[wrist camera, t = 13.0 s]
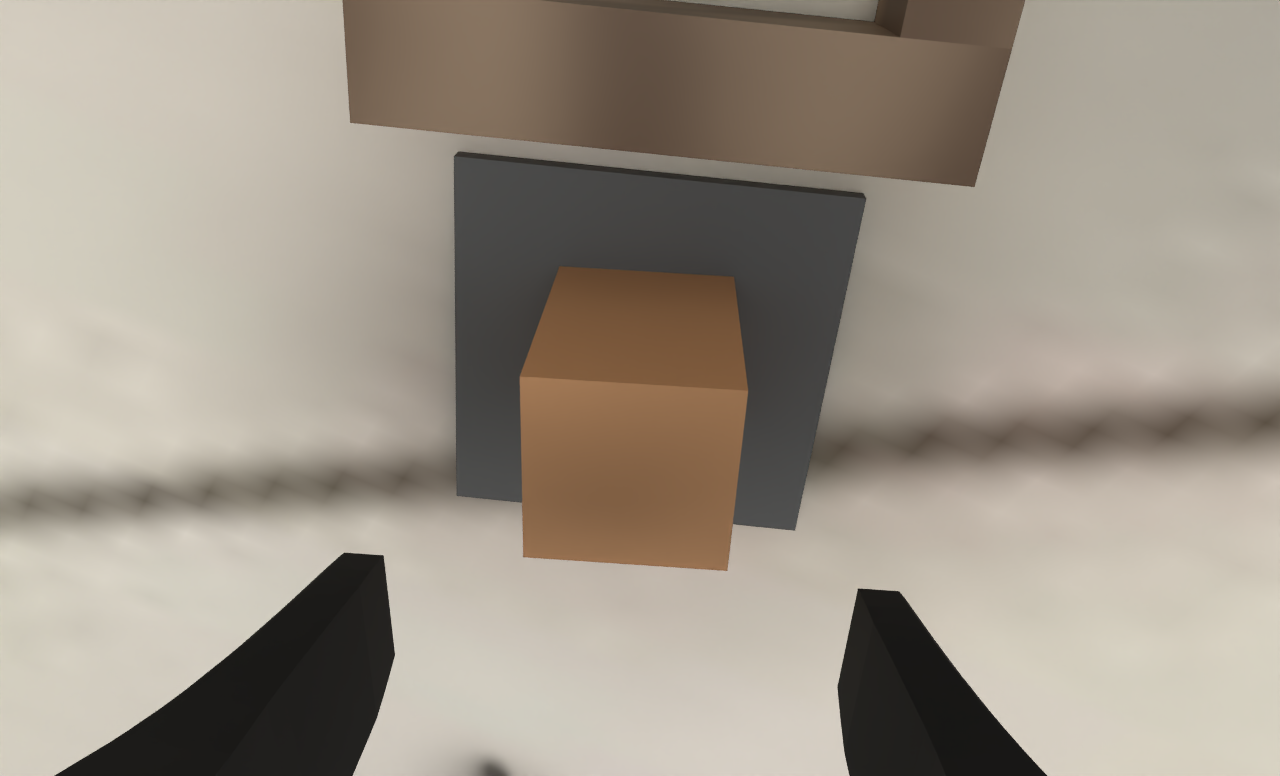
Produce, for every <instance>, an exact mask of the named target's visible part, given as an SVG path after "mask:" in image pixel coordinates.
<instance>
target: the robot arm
mask: <svg viewBox="0 0 1280 776" xmlns="http://www.w3.org/2000/svg"><path fill="white" fill-rule="evenodd" d="M394 657H395V652H394V643H393V634H392V626H391V617H390V608H389V599H388V591H387V582H386V573H385V564H384V556H383V555H369V554H354V553H343V554H342V555H341V556H340V557H338V558H337V559H336V560H335V561H334V562H333V563H332V564H331V565H329V566H328V567H327V568H326V569H325V570H324V571H323V572H322V573H321V574H320V575H319V576H317V577H316V578H315V579H314V580H313V581H312V582H311V583H310V584H309V585H308V586H307V587H306V588H305V589H303V590H302V591H301V592H300V593H299V594H298V595H297V596H296V597H295V598H294V599H293V600H291V601H290V602H289V603H288V604H287V605H286V606H285V607H284V608H283V609H282V610H281V611H279V612H278V613H277V614H276V615H275V616H274V617H273V618H272V619H270V620H269V621H268V622H267V623H266V624H265V625H264V626H262V627H261V628H260V629H259V630H258V631H257V632H256V633H254V634H253V635H252V636H251V637H250V638H249V639H248V640H246V641H245V642H244V643H243V644H242V645H241V646H239V647H238V648H237V649H236V650H235V651H234V652H232V653H231V654H230V655H229V656H227V657H226V658H225V659H224V660H222V661H221V662H220V663H219V664H217V665H216V666H215V667H214V668H212V669H211V670H210V671H209V672H207V673H206V674H205V675H204V676H202V677H201V678H200V679H199V680H198V681H196V682H195V683H194V684H193V685H191V686H190V687H189V688H187V689H186V690H185V691H183V692H182V693H181V694H179V695H178V696H177V697H175V698H174V699H173V700H171V701H170V702H169V703H167V704H166V705H165V706H163V707H162V708H160V709H159V710H158V711H156V712H155V713H153V714H152V715H150V716H149V717H147V718H146V719H144V720H143V721H141V722H140V723H138V724H137V725H136V726H134V727H133V728H131V729H130V730H128V731H127V732H125V733H124V734H122V735H121V736H119V737H118V738H116V739H114V740H113V741H111V742H110V743H108V744H106V745H105V746H103V747H101V748H100V749H98V750H96V751H95V752H93V753H91V754H90V755H88V756H86V757H85V758H83V759H81V760H80V761H78V762H76V763H75V764H73V765H71V766H70V767H68V768H67V769H65V770H63V771H62V772H60V773H58V774H57V775H55V776H352V775H353V773H354V771H355V769H356V766H357V764H358V761H359V759H360V757H361V754H362V752H363V750H364V747H365V745H366V743H367V740H368V738H369V736H370V733H371V731H372V728H373V726H374V723H375V721H376V719H377V716H378V712H379V709H380V706H381V702H382V699H383V696H384V692H385V689H386V685H387V682H388V678H389V675H390V671H391V667H392V664H393V660H394ZM838 697H839V707H840V717H841V727H842V735H843V744H844V752H845V757H846V762H847V766H848V771H849V775H850V776H1047V775H1046V774H1045V773H1044V772H1043V771H1042V770H1041V769H1040V768H1039V767H1038V765H1037V764H1036V763H1035V762H1034V761H1033V760H1032V759H1031V758H1030V757H1029V756H1028V755H1027V754H1026V752H1025V751H1024V750H1023V749H1022V748H1021V747H1020V746H1019V744H1018V743H1017V742H1016V741H1015V740H1014V739H1013V738H1012V737H1011V735H1010V734H1009V733H1008V732H1007V731H1006V730H1005V729H1004V728H1003V726H1002V725H1001V724H1000V723H999V722H998V720H997V719H996V718H995V717H994V716H993V714H992V713H991V712H990V711H989V710H988V708H987V707H986V706H985V705H984V703H983V702H982V701H981V700H980V698H979V697H978V696H977V695H976V693H975V692H974V691H973V690H972V688H971V687H970V686H969V685H968V683H967V682H966V681H965V680H964V678H963V677H962V676H961V675H960V673H959V672H958V671H957V669H956V668H955V667H954V665H953V664H952V663H951V661H950V660H949V659H948V657H947V656H946V655H945V653H944V652H943V651H942V649H941V648H940V647H939V645H938V644H937V643H936V641H935V640H934V638H933V637H932V636H931V634H930V633H929V632H928V630H927V629H926V627H925V626H924V625H923V623H922V622H921V620H920V619H919V618H918V616H917V615H916V613H915V612H914V610H913V609H912V608H911V606H910V605H909V603H908V602H907V601H906V599H905V598H904V597H903V596H902V594H901V593H900V592H899V591H886V590H872V589H858V592H857V596H856V601H855V606H854V611H853V616H852V620H851V625H850V630H849V635H848V640H847V644H846V649H845V654H844V659H843V663H842V668H841V673H840V678H839V683H838Z"/></svg>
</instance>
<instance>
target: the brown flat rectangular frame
mask: <svg viewBox="0 0 1280 776" xmlns="http://www.w3.org/2000/svg"><path fill="white" fill-rule="evenodd" d="M1024 3H1025V0H879V2H878V7H877V12H876V17H875V22H870V21H860V20H851V19H841V18H831V17H821V16H812V15H802V14H792V13H783V12H773V11H763V10H754V9H744V8H734V7H725V6H715V5H705V4H695V3H686V2H676V1H666V0H343V13H344V30H345V46H346V62H347V78H348V94H349V111H350V123H359V124H368V125H378V126H388V127H397V128H407V129H417V130H426V131H436V132H446V133H456V134H465V135H475V136H485V137H494V138H504V139H514V140H524V141H533V142H543V143H553V144H562V145H572V146H582V147H592V148H601V149H611V150H621V151H630V152H640V153H650V154H659V155H669V156H679V157H689V158H698V159H708V160H718V161H727V162H737V163H747V164H757V165H766V166H776V167H786V168H795V169H805V170H815V171H825V172H834V173H844V174H854V175H863V176H873V177H883V178H892V179H902V180H912V181H922V182H931V183H941V184H951V185H960V186H970V187H974V186H975V183H976V179H977V175H978V172H979V168H980V164H981V161H982V157H983V153H984V150H985V146H986V142H987V139H988V135H989V131H990V128H991V124H992V120H993V117H994V113H995V109H996V105H997V102H998V98H999V94H1000V91H1001V87H1002V83H1003V80H1004V76H1005V72H1006V69H1007V65H1008V61H1009V58H1010V54H1011V50H1012V47H1013V43H1014V39H1015V36H1016V32H1017V28H1018V25H1019V21H1020V17H1021V14H1022V10H1023V6H1024Z"/></svg>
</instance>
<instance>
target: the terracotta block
mask: <svg viewBox="0 0 1280 776" xmlns="http://www.w3.org/2000/svg"><path fill="white" fill-rule="evenodd" d="M747 397H748V385H747V377H746V369H745V361H744V353H743V345H742V337H741V329H740V321H739V313H738V305H737V297H736V288H735V280H734V277H730V276H714V275H697V274H680V273H664V272H647V271H630V270H614V269H597V268H580V267H564V266H559V269H558V272H557V275H556V277H555V280H554V283H553V286H552V289H551V291H550V294H549V297H548V300H547V302H546V305H545V308H544V311H543V313H542V316H541V319H540V322H539V324H538V327H537V330H536V333H535V336H534V338H533V341H532V344H531V347H530V349H529V352H528V355H527V358H526V360H525V363H524V366H523V369H522V372H521V374H520V415H521V464H522V513H523V557H529V558H544V559H559V560H574V561H589V562H604V563H619V564H634V565H649V566H664V567H679V568H694V569H709V570H724V571H727V568H728V560H729V551H730V543H731V534H732V525H733V517H734V508H735V500H736V491H737V483H738V474H739V465H740V457H741V448H742V440H743V431H744V423H745V414H746V405H747Z"/></svg>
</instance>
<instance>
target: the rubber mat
mask: <svg viewBox="0 0 1280 776" xmlns="http://www.w3.org/2000/svg"><path fill="white" fill-rule="evenodd" d="M865 202H866V198H865V196H864V194H862V193H853V192H843V191H833V190H824V189H814V188H804V187H794V186H785V185H775V184H765V183H756V182H746V181H736V180H727V179H717V178H707V177H697V176H688V175H678V174H668V173H659V172H649V171H639V170H629V169H620V168H610V167H600V166H591V165H581V164H571V163H561V162H552V161H542V160H532V159H523V158H513V157H503V156H494V155H484V154H474V153H464V152H458V153H457V154H456V155H455V156H454V216H455V343H456V471H457V496H464V497H473V498H483V499H493V500H503V501H512V502H522V464H521V415H520V374H521V372H522V369H523V366H524V363H525V360H526V358H527V355H528V352H529V349H530V347H531V344H532V341H533V338H534V336H535V333H536V330H537V327H538V324H539V322H540V319H541V316H542V313H543V311H544V308H545V305H546V302H547V300H548V297H549V294H550V291H551V289H552V286H553V283H554V280H555V277H556V275H557V272H558V269H559V266H564V267H580V268H597V269H614V270H630V271H647V272H664V273H680V274H697V275H714V276H730V277H734V280H735V288H736V297H737V305H738V313H739V321H740V329H741V337H742V345H743V353H744V361H745V369H746V377H747V385H748V397H747V405H746V414H745V423H744V431H743V440H742V448H741V457H740V465H739V474H738V483H737V491H736V500H735V508H734V517H733V524H736V525H746V526H756V527H766V528H775V529H785V530H795V527H796V523H797V518H798V513H799V509H800V504H801V499H802V495H803V490H804V485H805V481H806V476H807V472H808V467H809V462H810V458H811V453H812V448H813V444H814V439H815V434H816V430H817V425H818V420H819V416H820V411H821V406H822V402H823V397H824V393H825V388H826V383H827V379H828V374H829V369H830V365H831V360H832V355H833V351H834V346H835V341H836V337H837V332H838V327H839V323H840V318H841V313H842V309H843V304H844V300H845V295H846V290H847V286H848V281H849V276H850V272H851V267H852V262H853V258H854V253H855V248H856V244H857V239H858V234H859V230H860V225H861V221H862V216H863V211H864V207H865Z"/></svg>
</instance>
